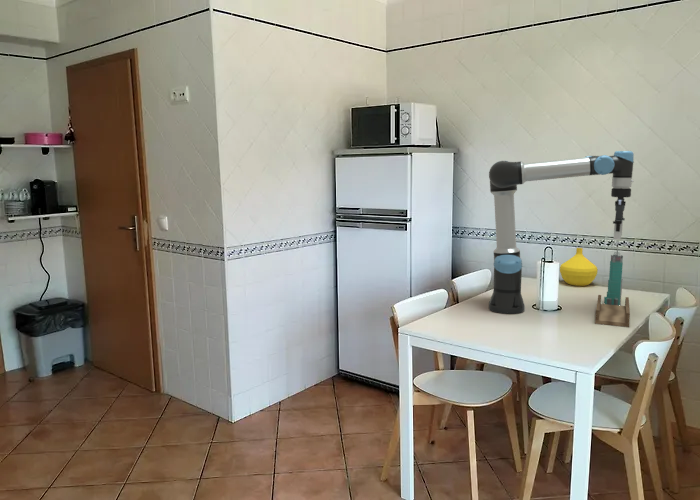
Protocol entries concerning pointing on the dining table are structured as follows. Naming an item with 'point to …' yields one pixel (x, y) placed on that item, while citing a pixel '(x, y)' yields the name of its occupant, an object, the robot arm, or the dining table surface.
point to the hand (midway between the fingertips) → (617, 237)
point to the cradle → (612, 314)
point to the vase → (578, 270)
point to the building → (615, 280)
